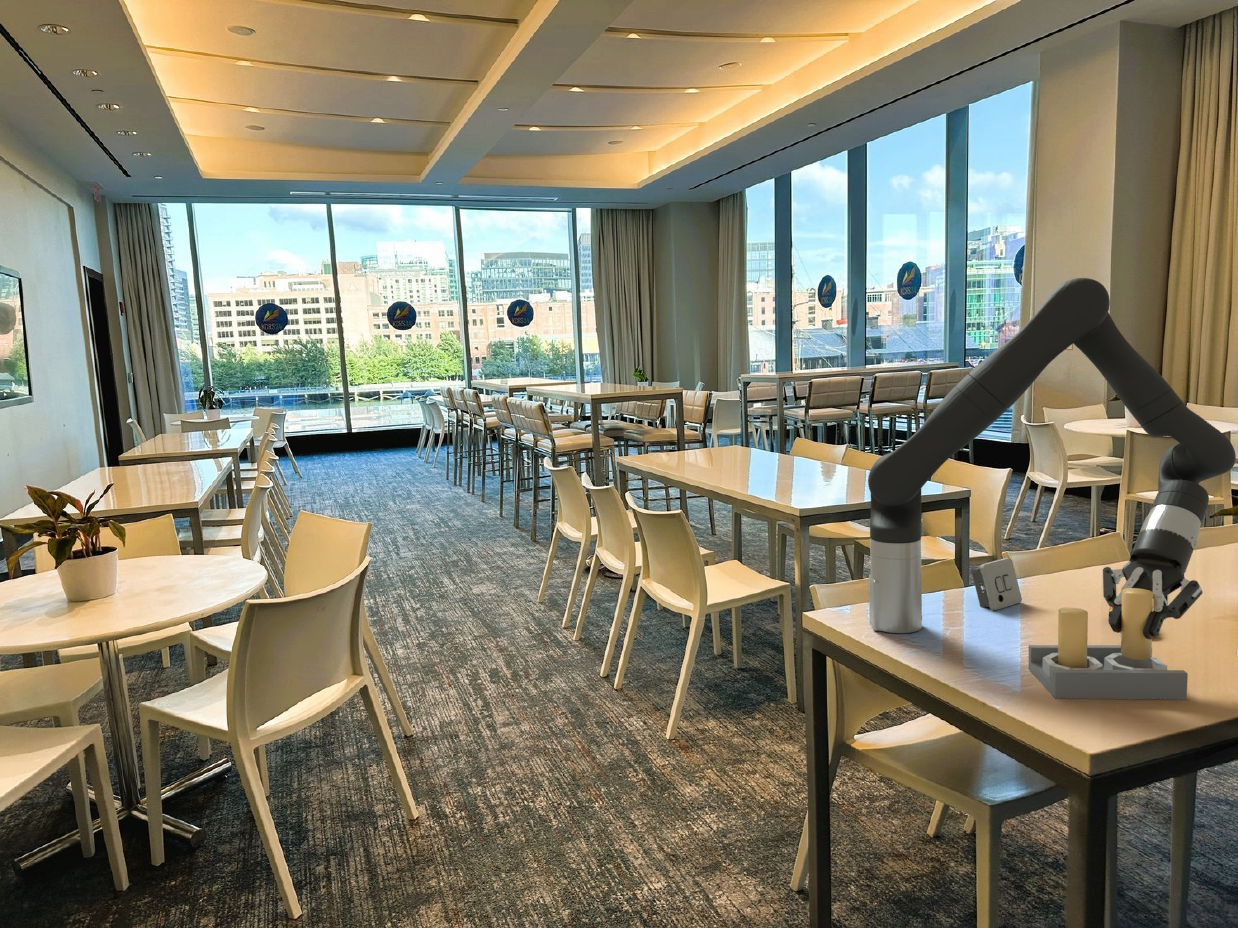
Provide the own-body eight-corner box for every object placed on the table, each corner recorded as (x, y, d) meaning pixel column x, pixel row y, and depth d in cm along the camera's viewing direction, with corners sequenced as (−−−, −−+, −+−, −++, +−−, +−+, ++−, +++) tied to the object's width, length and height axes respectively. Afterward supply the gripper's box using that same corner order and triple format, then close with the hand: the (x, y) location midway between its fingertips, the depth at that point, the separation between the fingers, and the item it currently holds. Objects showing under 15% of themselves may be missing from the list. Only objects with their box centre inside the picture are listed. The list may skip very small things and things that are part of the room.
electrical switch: (994, 612, 167) (990, 565, 166) (971, 608, 171) (967, 563, 171) (1023, 603, 171) (1019, 558, 171) (1000, 600, 176) (996, 556, 176)
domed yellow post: (1127, 659, 127) (1128, 595, 125) (1116, 650, 131) (1117, 588, 129) (1156, 659, 126) (1157, 595, 125) (1144, 650, 130) (1145, 587, 129)
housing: (1055, 698, 125) (1055, 623, 124) (1028, 668, 137) (1029, 600, 135) (1186, 699, 122) (1189, 623, 121) (1147, 669, 134) (1149, 599, 133)
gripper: (1110, 521, 136) (1073, 610, 130) (1212, 532, 125) (1176, 630, 119) (1125, 547, 140) (1089, 635, 134) (1225, 561, 128) (1191, 657, 123)
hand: (1130, 632), depth 127 cm, fingers closed on domed yellow post, 4 cm apart
